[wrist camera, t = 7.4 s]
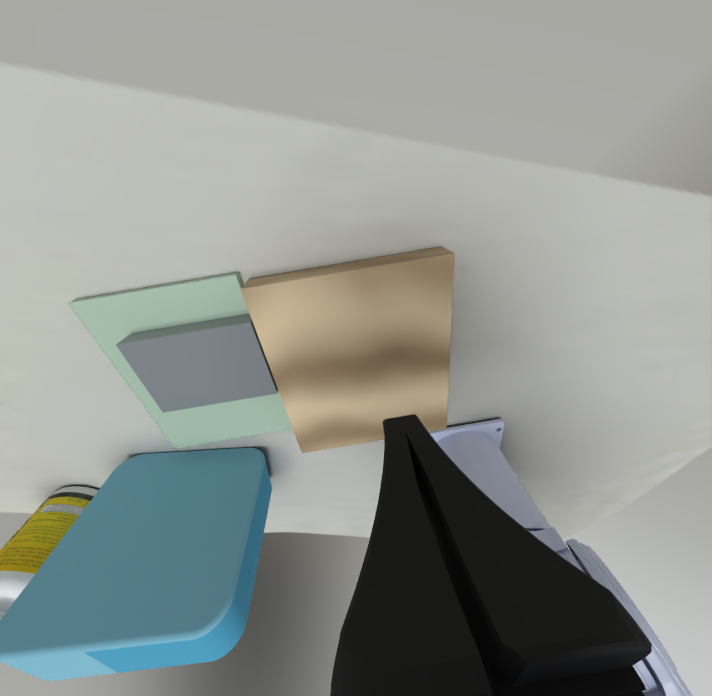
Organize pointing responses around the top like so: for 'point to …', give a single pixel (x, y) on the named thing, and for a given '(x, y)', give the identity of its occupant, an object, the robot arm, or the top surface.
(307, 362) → the oak board
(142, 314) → the green mat
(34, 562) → the supplement bottle
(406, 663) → the robot arm
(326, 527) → the top surface
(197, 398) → the slate tile
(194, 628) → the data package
